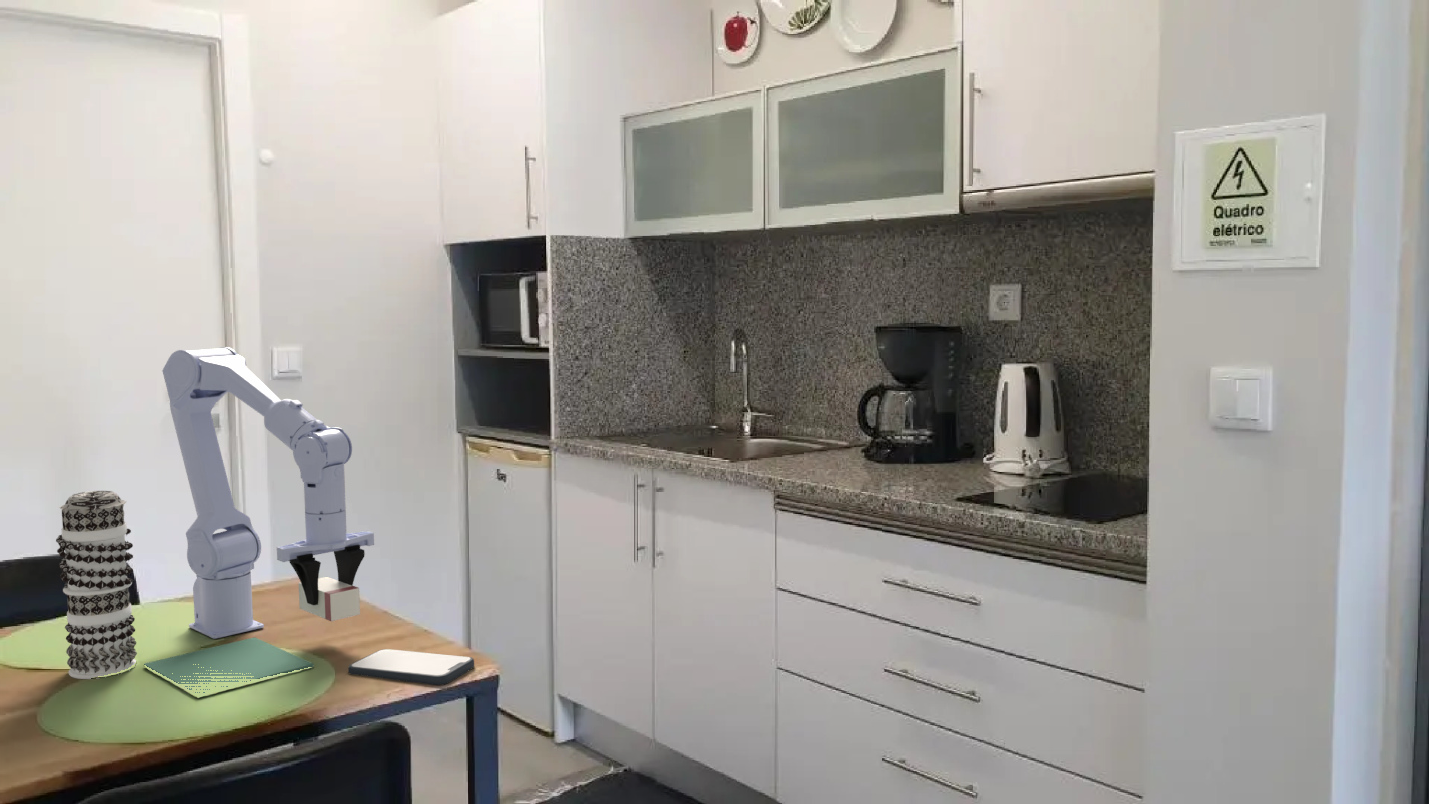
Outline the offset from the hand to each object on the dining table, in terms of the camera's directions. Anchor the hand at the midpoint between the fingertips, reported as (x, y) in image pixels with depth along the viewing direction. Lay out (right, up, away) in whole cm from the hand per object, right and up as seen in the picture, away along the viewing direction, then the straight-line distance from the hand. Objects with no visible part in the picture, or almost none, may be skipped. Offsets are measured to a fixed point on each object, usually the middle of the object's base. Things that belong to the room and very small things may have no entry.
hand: (328, 600), depth 166 cm
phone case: (+15, -8, -11) cm, 20 cm away
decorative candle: (-29, -8, -10) cm, 31 cm away
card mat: (-11, -8, -10) cm, 16 cm away
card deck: (0, -2, 0) cm, 2 cm away
